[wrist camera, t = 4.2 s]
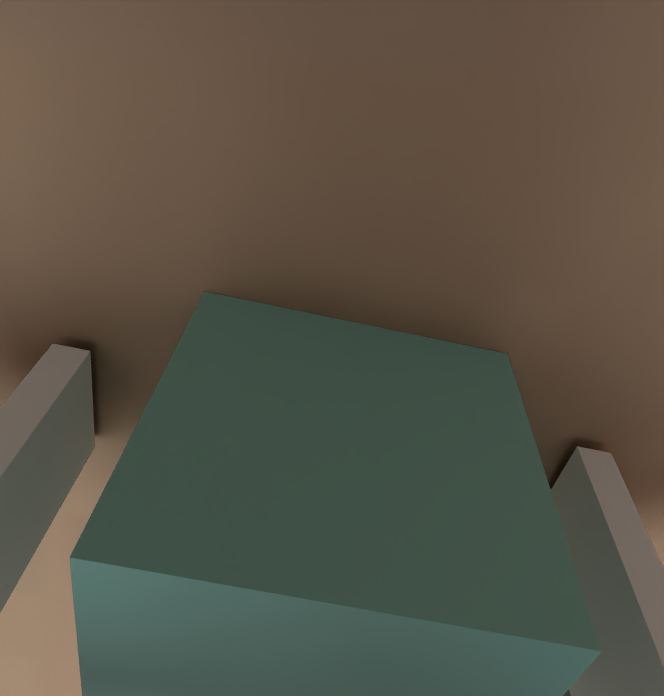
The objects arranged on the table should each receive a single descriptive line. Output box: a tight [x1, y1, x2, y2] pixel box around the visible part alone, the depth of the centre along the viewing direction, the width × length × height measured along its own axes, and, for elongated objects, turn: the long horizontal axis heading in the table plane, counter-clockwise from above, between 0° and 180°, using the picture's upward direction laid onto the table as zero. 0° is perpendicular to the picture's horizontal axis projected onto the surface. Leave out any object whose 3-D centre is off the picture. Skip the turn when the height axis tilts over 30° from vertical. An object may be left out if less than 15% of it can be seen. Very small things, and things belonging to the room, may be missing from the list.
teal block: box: [70, 291, 602, 696], centre depth 11 cm, size 6×6×6 cm
